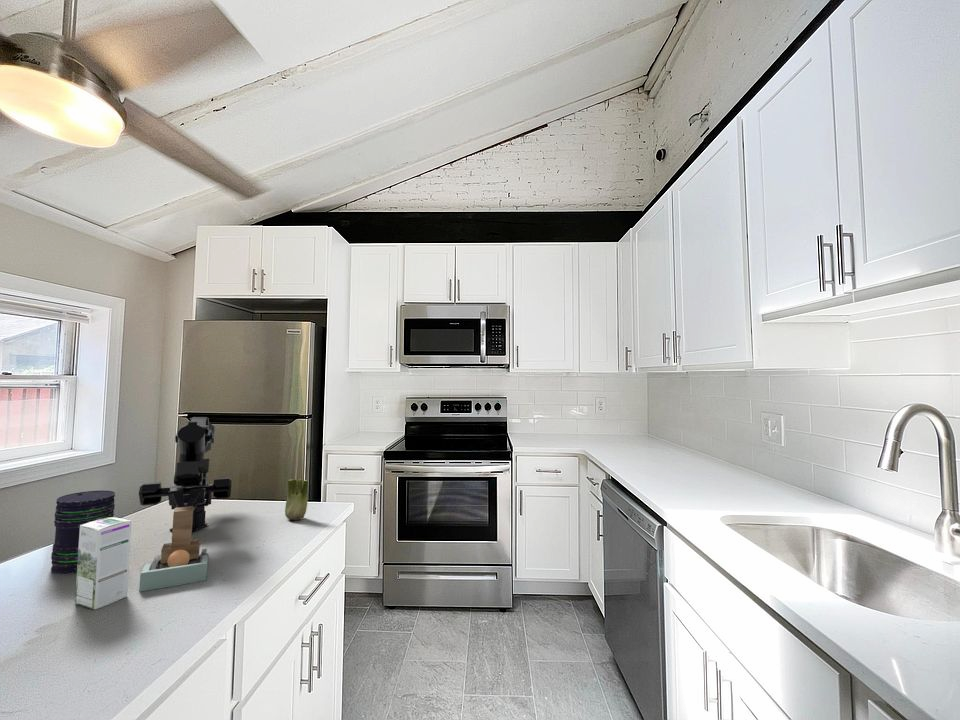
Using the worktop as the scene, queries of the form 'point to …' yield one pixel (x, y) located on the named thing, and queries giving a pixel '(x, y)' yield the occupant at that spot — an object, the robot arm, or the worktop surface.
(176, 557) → the ball
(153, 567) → the rails
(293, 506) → the fennel bulb
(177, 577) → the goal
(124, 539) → the syrup box
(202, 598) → the worktop surface
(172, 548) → the kicker
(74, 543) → the storage jar
